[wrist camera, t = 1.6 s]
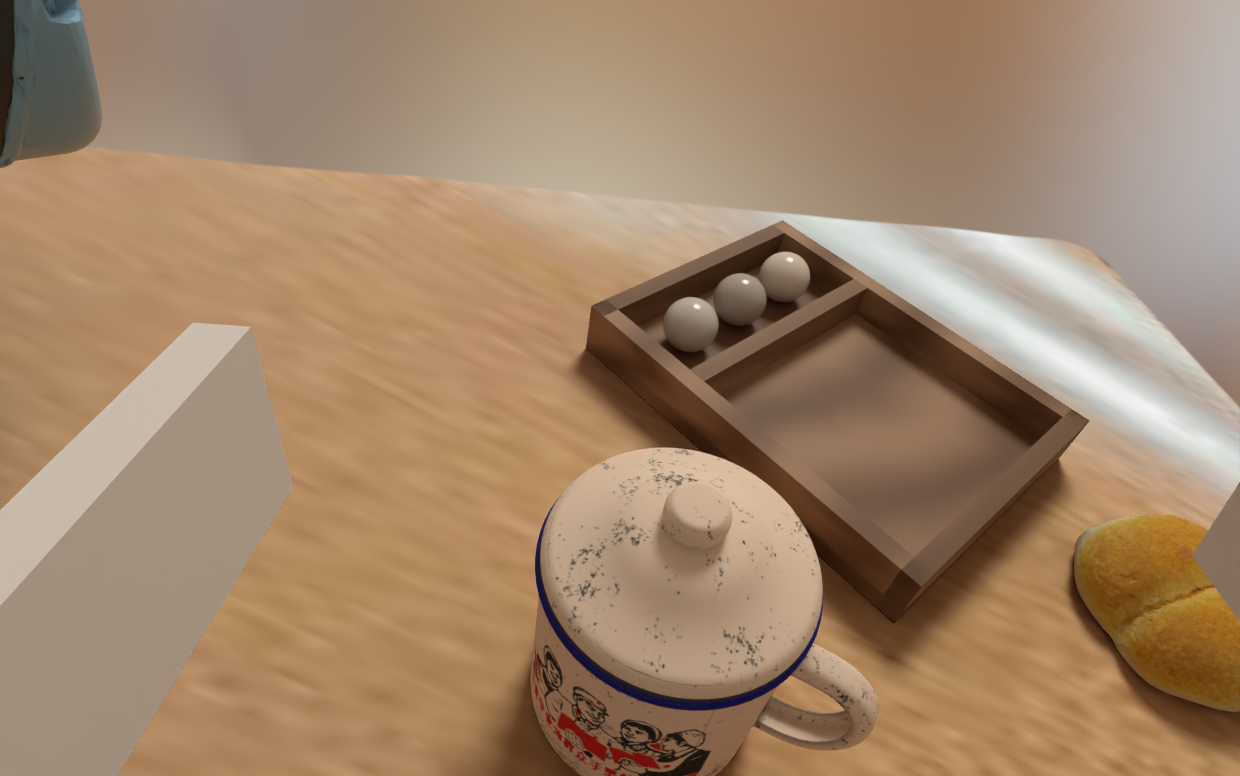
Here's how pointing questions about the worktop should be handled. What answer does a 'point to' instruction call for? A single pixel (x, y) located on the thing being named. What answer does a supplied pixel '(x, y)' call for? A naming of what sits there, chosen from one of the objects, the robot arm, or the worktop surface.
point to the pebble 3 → (784, 276)
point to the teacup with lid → (680, 620)
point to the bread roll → (1161, 606)
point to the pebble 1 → (690, 324)
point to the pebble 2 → (739, 299)
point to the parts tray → (844, 411)
